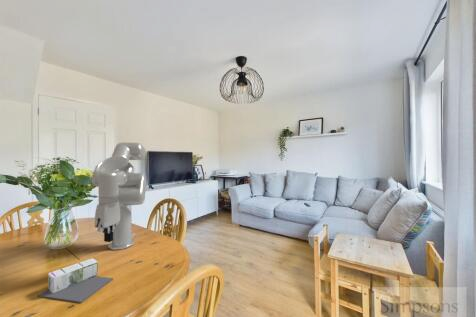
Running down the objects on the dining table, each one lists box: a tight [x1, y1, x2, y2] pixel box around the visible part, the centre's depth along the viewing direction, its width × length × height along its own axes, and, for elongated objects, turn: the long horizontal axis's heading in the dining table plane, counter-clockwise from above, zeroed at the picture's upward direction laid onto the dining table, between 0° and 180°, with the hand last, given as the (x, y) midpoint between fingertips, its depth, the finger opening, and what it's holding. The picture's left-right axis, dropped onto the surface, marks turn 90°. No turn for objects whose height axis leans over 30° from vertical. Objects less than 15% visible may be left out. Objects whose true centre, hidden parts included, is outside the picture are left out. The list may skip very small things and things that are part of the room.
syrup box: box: [47, 257, 99, 293], centre depth 81 cm, size 6×6×14 cm
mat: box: [37, 275, 114, 304], centre depth 78 cm, size 14×18×1 cm
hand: (108, 241), depth 93 cm, fingers closed
